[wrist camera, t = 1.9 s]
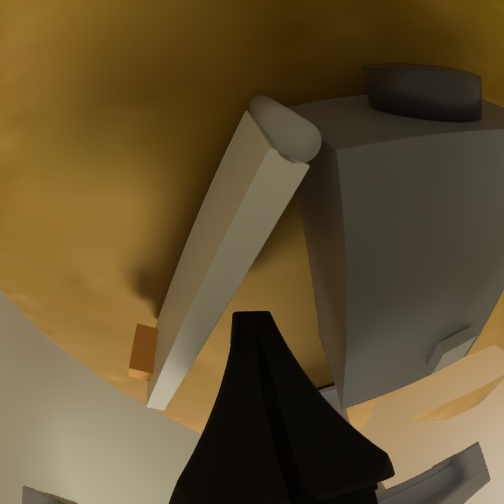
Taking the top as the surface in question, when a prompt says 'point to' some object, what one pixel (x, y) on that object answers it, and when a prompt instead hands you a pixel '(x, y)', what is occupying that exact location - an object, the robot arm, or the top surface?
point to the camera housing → (403, 224)
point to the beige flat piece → (224, 240)
